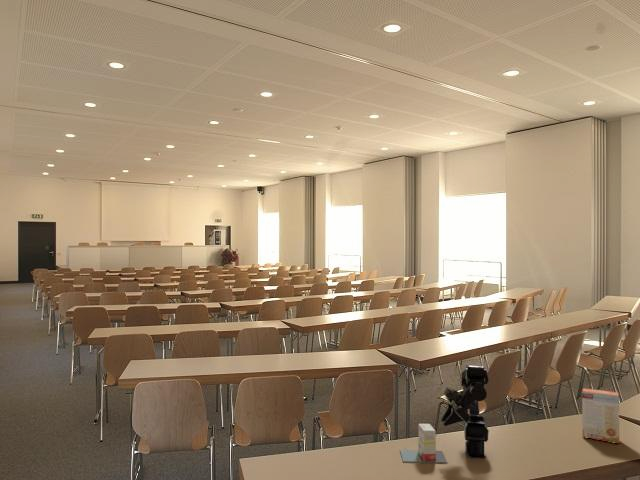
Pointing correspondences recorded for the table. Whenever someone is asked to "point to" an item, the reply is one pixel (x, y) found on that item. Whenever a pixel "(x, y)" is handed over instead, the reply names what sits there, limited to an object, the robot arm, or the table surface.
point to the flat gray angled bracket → (415, 458)
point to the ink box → (427, 442)
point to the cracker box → (600, 415)
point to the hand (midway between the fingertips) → (443, 422)
